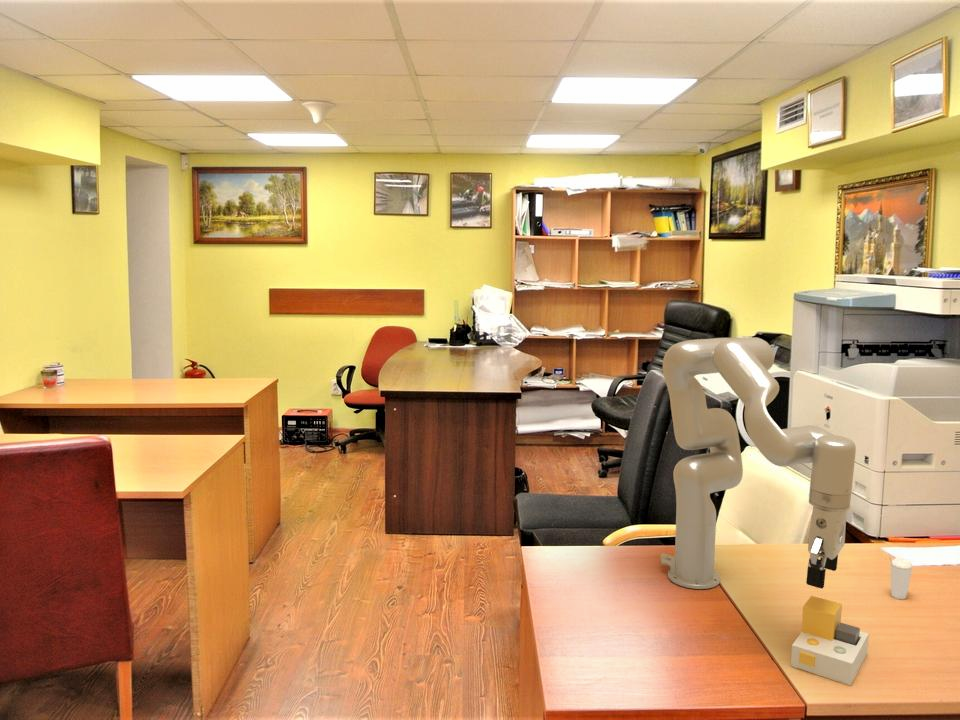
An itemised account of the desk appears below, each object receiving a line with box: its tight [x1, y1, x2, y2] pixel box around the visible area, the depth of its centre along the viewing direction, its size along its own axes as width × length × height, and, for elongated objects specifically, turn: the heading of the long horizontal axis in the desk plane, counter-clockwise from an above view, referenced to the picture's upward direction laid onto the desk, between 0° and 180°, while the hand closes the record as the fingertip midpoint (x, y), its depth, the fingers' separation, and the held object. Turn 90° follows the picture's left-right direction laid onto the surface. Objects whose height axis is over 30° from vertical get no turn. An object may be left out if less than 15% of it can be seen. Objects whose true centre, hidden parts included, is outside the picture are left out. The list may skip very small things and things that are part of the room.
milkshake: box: [889, 556, 913, 600], centre depth 180 cm, size 5×5×10 cm
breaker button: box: [835, 622, 861, 646], centre depth 153 cm, size 4×4×4 cm
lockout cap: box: [800, 595, 843, 641], centre depth 156 cm, size 6×6×6 cm
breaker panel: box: [790, 630, 870, 687], centre depth 153 cm, size 11×14×5 cm
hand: (821, 577), depth 155 cm, fingers open, 9 cm apart
